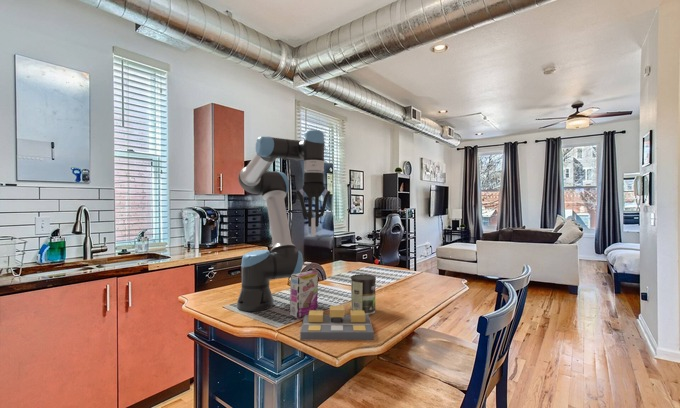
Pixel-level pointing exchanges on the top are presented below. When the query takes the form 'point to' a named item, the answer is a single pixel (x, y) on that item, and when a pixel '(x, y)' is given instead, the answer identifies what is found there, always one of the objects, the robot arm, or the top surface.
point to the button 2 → (336, 313)
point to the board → (336, 329)
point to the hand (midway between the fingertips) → (313, 235)
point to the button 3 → (357, 316)
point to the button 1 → (315, 316)
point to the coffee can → (363, 293)
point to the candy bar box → (303, 293)
